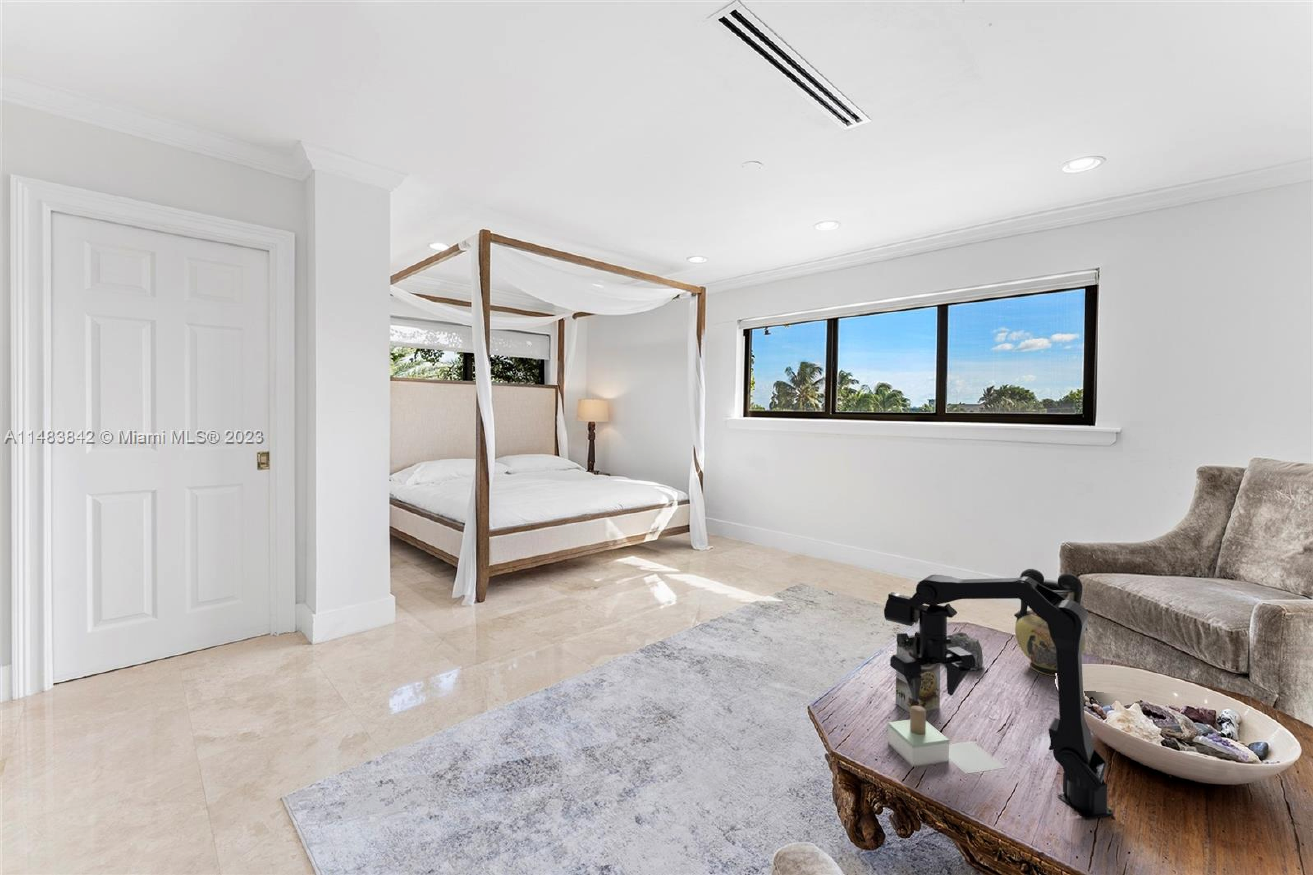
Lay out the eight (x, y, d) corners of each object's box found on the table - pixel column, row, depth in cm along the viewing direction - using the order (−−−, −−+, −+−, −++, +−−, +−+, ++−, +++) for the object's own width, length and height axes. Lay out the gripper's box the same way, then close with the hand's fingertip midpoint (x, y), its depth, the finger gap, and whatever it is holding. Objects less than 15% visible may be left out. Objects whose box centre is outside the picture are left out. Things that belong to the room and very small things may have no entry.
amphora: (1015, 675, 165) (1017, 574, 164) (1011, 653, 180) (1013, 560, 178) (1090, 689, 156) (1092, 582, 155) (1080, 664, 171) (1082, 567, 170)
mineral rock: (927, 656, 179) (928, 625, 178) (955, 651, 181) (956, 621, 181) (960, 674, 166) (960, 641, 166) (989, 669, 169) (989, 636, 168)
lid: (949, 743, 125) (949, 717, 124) (912, 748, 123) (912, 722, 123) (922, 721, 134) (922, 697, 133) (888, 725, 132) (888, 701, 132)
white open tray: (948, 763, 125) (949, 743, 125) (912, 768, 123) (912, 748, 123) (922, 739, 134) (922, 721, 134) (888, 744, 132) (888, 725, 132)
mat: (1005, 769, 123) (1005, 767, 122) (965, 775, 121) (965, 773, 121) (971, 742, 132) (971, 741, 132) (934, 748, 130) (934, 746, 130)
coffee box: (911, 715, 144) (912, 654, 144) (894, 703, 151) (895, 643, 150) (941, 710, 147) (941, 649, 146) (923, 698, 153) (923, 639, 152)
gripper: (943, 615, 140) (943, 676, 140) (875, 622, 136) (876, 686, 136) (977, 631, 129) (977, 698, 129) (905, 640, 125) (905, 709, 125)
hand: (932, 697), depth 130 cm, fingers open, 9 cm apart
